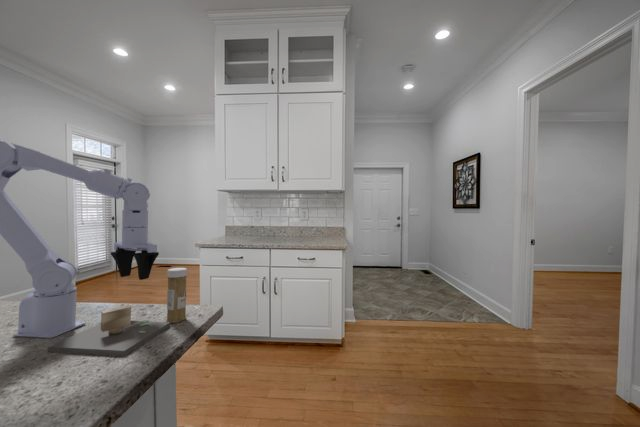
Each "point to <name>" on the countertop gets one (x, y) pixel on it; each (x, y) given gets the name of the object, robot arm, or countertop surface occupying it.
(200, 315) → the countertop surface
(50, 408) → the countertop surface
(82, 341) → the dial board
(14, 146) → the robot arm
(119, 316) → the peg
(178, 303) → the sprinkles bottle
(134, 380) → the countertop surface
